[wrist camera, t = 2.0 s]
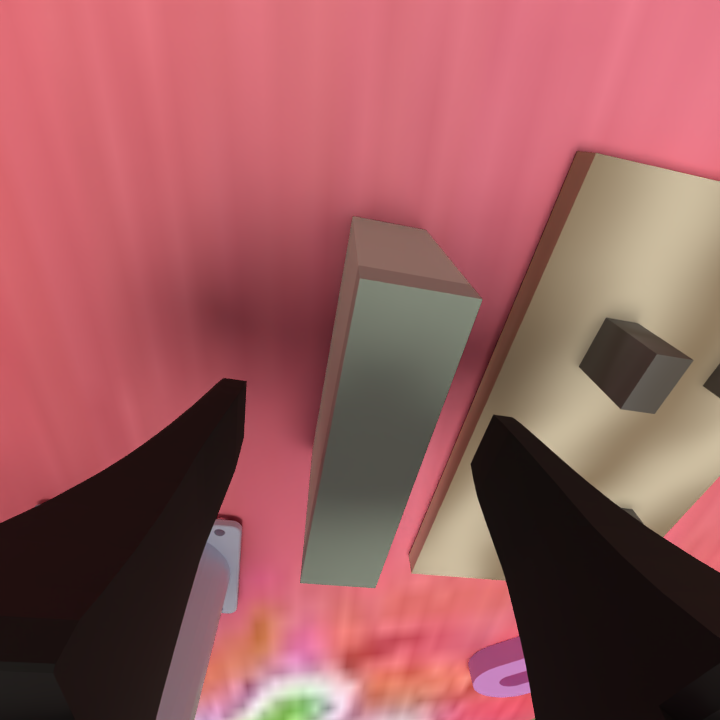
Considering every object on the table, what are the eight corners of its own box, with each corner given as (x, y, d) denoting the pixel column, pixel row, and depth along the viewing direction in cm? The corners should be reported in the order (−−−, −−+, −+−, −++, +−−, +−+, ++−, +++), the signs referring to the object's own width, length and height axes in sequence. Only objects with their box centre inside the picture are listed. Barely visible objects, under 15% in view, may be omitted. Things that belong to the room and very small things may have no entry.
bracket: (637, 594, 25) (731, 743, 19) (656, 629, 27) (744, 770, 21) (454, 655, 28) (485, 797, 22) (486, 680, 31) (521, 815, 25)
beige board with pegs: (408, 555, 21) (419, 625, 18) (577, 151, 11) (660, 159, 8) (605, 571, 23) (644, 638, 20) (904, 226, 13) (1073, 256, 10)
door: (312, 447, 17) (300, 583, 12) (352, 215, 12) (360, 277, 7) (365, 453, 18) (375, 587, 12) (425, 229, 13) (482, 299, 7)
